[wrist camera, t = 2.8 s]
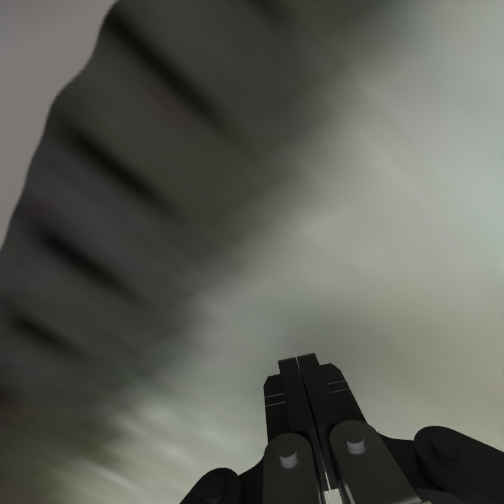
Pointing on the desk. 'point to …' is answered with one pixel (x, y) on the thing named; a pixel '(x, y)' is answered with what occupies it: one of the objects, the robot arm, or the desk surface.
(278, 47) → the desk surface
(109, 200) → the desk surface
